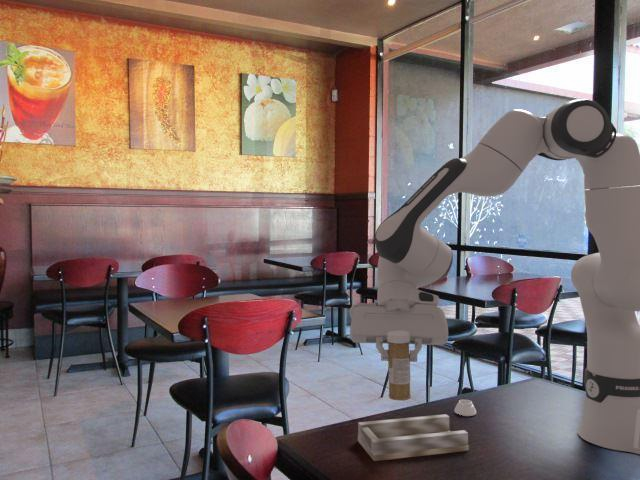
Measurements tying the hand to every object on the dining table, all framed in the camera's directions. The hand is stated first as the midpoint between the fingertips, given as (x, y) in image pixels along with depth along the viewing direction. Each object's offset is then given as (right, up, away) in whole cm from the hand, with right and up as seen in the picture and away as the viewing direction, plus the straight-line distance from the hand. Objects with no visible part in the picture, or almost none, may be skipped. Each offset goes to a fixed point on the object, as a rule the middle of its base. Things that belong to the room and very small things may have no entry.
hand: (399, 359), depth 112 cm
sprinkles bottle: (0, -8, +1) cm, 8 cm away
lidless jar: (+19, -18, +21) cm, 33 cm away
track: (+3, -18, +2) cm, 18 cm away
